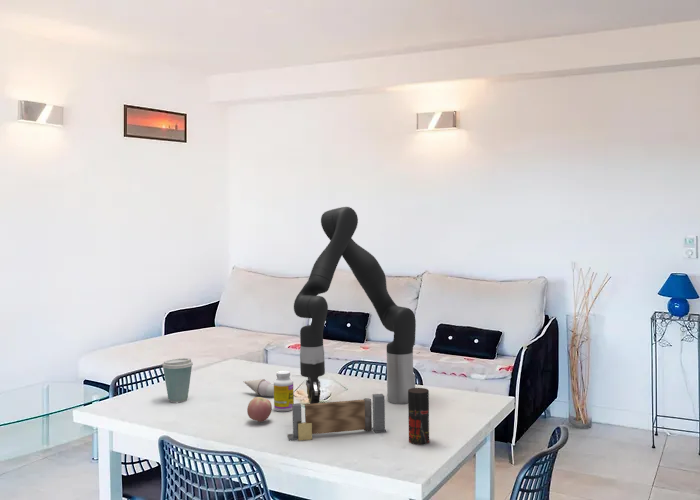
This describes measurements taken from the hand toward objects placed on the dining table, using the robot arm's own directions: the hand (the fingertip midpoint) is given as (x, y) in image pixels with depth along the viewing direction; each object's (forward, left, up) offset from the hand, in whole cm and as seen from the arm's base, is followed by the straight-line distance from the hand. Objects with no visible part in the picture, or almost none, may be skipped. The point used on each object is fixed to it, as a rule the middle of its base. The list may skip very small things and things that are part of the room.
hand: (314, 414), depth 211 cm
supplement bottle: (+7, -22, -4) cm, 24 cm away
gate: (-6, +8, -4) cm, 11 cm away
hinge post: (-19, +8, -4) cm, 21 cm away
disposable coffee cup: (+43, -43, -4) cm, 61 cm away
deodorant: (-28, +20, -4) cm, 34 cm away
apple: (+16, -10, -4) cm, 20 cm away
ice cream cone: (+14, -42, -5) cm, 45 cm away
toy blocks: (+6, +8, -4) cm, 11 cm away
